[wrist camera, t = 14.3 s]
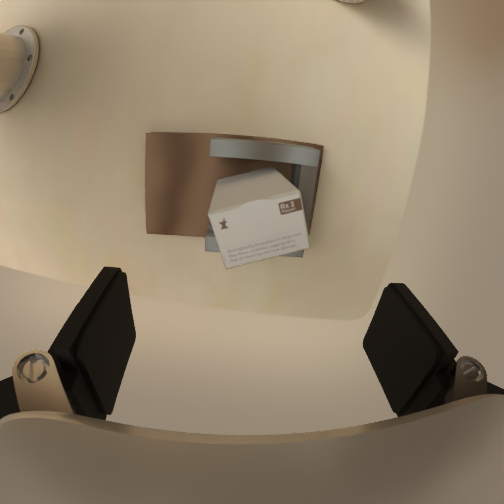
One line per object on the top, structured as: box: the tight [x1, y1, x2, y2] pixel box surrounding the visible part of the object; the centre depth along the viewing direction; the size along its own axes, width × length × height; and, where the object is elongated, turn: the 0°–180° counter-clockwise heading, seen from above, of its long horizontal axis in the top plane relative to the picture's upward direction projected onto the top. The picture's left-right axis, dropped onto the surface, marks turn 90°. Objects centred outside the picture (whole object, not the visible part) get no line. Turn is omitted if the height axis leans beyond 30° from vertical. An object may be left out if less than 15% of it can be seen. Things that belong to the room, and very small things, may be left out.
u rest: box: [145, 132, 324, 257], centre depth 28 cm, size 18×11×6 cm, turn 85°
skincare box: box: [208, 167, 310, 269], centre depth 23 cm, size 6×4×12 cm
